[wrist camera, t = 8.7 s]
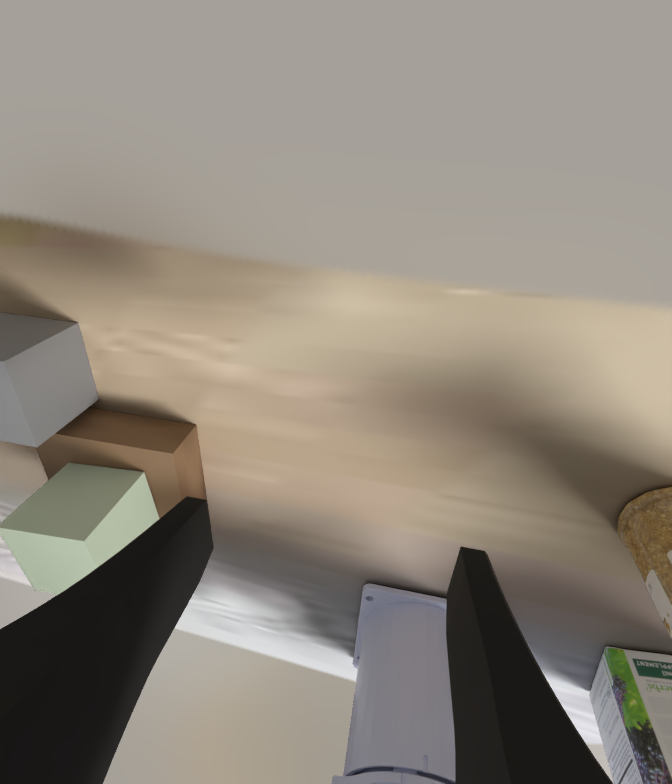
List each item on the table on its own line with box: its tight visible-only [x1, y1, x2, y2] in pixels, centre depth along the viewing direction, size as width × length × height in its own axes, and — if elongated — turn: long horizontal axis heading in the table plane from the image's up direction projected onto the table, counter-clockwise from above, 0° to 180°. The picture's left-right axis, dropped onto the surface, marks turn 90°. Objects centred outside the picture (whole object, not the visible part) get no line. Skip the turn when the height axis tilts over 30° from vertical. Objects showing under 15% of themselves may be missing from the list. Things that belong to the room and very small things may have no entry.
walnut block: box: [36, 408, 211, 527], centre depth 25 cm, size 8×8×3 cm
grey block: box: [0, 312, 99, 447], centre depth 21 cm, size 4×4×4 cm
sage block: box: [0, 463, 159, 595], centre depth 22 cm, size 4×4×4 cm
